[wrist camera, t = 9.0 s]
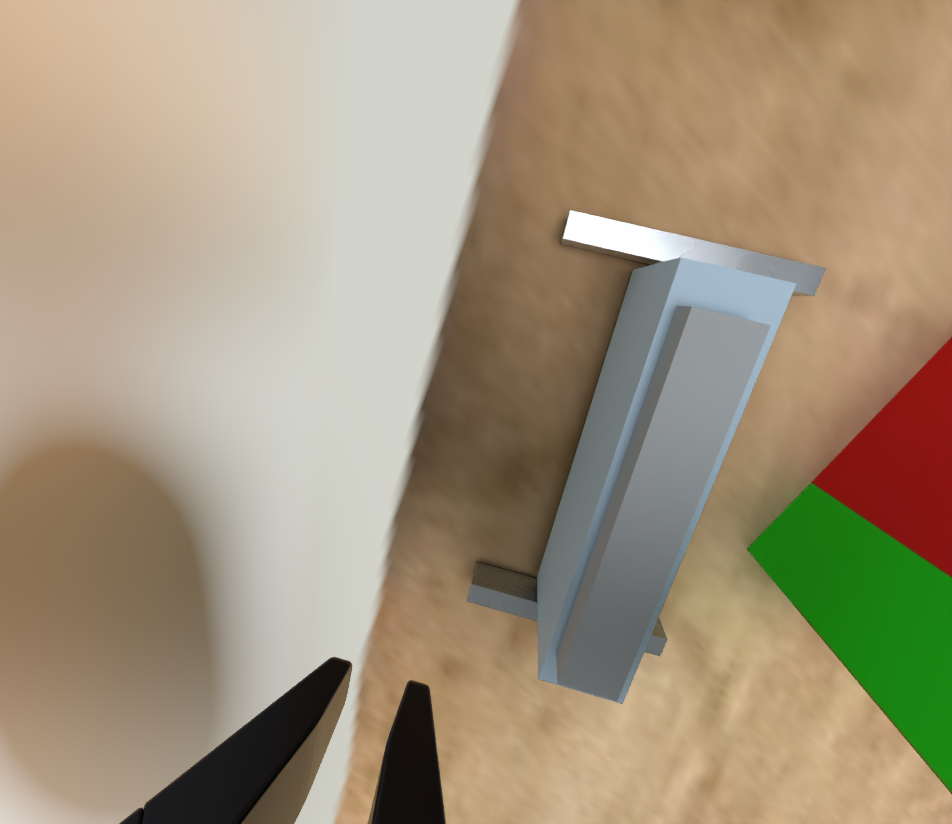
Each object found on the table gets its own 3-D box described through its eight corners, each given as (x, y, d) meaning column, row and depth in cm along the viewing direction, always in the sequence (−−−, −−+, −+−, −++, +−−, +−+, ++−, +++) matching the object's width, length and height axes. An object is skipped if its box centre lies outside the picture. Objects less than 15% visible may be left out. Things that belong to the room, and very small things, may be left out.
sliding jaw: (602, 594, 18) (635, 738, 12) (537, 576, 18) (538, 709, 12) (714, 288, 14) (832, 283, 9) (632, 269, 15) (697, 253, 9)
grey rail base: (1103, 754, 17) (1324, 934, 12) (471, 577, 19) (450, 675, 14) (1395, 406, 13) (1886, 470, 8) (566, 218, 15) (582, 181, 10)
